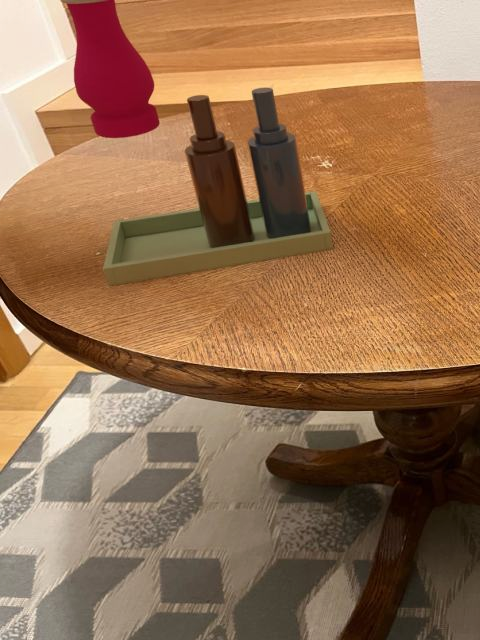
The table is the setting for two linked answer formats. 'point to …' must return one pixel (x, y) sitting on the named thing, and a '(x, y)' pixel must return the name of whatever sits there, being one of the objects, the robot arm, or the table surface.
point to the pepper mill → (110, 72)
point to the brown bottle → (217, 179)
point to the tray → (200, 244)
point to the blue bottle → (277, 171)
